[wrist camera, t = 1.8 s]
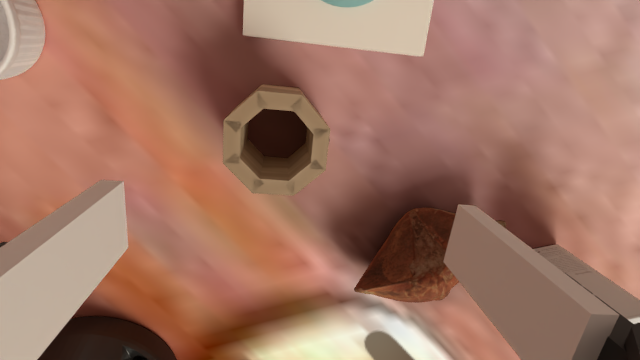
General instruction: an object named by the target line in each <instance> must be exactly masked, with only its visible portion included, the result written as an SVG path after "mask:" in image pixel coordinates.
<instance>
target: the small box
mask: <svg viewBox="0 0 640 360" xmlns="http://www.w3.org/2000/svg"><path fill="white" fill-rule="evenodd" d="M533 250H535V251H536V252H537V253H539V254H540V255H541V256H542V257H544V258H545V259H546V260H548V261H549V262H550V263H552V264H553V265H554V266H556V267H557V268H558V269H560V270H561V271H562V272H564V273H566V274H568V275H569V276H570V277H572V278H573V279H574V280H576V281H577V282H578V283H580V284H581V286H582V287H585V288H586V289H588V290H589V291H590V292H592V293H593V295H594V296H597V297H598V298H600V299H601V300H602V301H604V302H605V303H606V304H608V305H609V306H610V307H612V308H613V309H614V310H616V311H617V312H618V313H620V314H621V315H622V316H624V317H625V318H626V319H628V320H629V321H630V322H632V323H633V324H636V323H640V300H639V299H637V298H636V297H634V296H633V295H631V294H630V293H628V292H627V291H625V290H624V289H623V288H621V287H620V286H618V285H617V284H615V283H614V282H612V281H611V280H609V279H608V278H606V277H605V276H603V275H602V274H600V273H599V272H598V271H596V270H595V269H593V268H592V267H590V266H589V265H587V264H586V263H584V262H583V261H581V260H580V259H578V258H577V257H575V256H574V255H573V254H571V253H570V252H568V251H567V250H565V249H564V248H562V247H561V246H559V245H557V244H556V245H551V246H546V247H541V248H536V249H533Z"/></svg>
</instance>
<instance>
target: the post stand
mask: <svg viewBox="0 0 640 360" xmlns="http://www.w3.org/2000/svg"><path fill="white" fill-rule="evenodd" d="M433 2H434V0H244V11H243V35H244V36H249V37H257V38H266V39H274V40H283V41H291V42H300V43H308V44H317V45H325V46H334V47H342V48H351V49H359V50H368V51H376V52H385V53H393V54H402V55H410V56H423V55H424V50H425V45H426V39H427V34H428V29H429V24H430V18H431V13H432V8H433Z"/></svg>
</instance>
